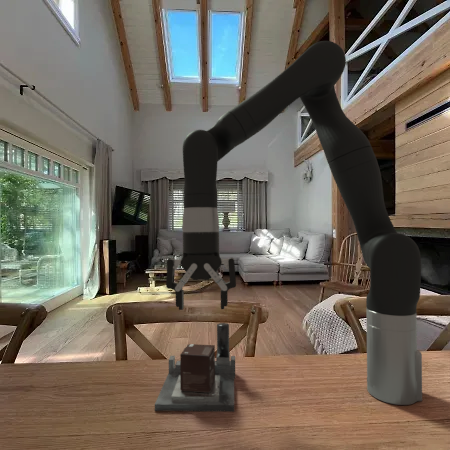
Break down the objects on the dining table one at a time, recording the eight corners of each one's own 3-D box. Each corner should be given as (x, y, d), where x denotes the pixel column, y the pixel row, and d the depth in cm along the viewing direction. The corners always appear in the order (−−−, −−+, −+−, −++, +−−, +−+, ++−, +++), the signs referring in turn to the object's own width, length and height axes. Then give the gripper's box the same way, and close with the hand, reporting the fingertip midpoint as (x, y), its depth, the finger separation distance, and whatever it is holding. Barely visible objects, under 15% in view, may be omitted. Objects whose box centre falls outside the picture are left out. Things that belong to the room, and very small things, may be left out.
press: (235, 373, 76) (235, 355, 76) (235, 411, 60) (235, 389, 60) (170, 372, 77) (170, 355, 77) (154, 410, 61) (154, 388, 61)
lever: (229, 359, 77) (229, 322, 77) (229, 364, 73) (229, 326, 74) (217, 359, 77) (216, 322, 77) (216, 364, 73) (216, 326, 74)
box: (209, 393, 63) (209, 356, 63) (179, 391, 64) (179, 354, 64) (215, 379, 69) (215, 344, 69) (188, 377, 70) (188, 343, 70)
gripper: (235, 229, 71) (236, 304, 70) (170, 230, 71) (170, 304, 71) (235, 229, 63) (236, 313, 63) (162, 230, 63) (163, 313, 63)
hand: (201, 308), depth 67 cm, fingers open, 8 cm apart
